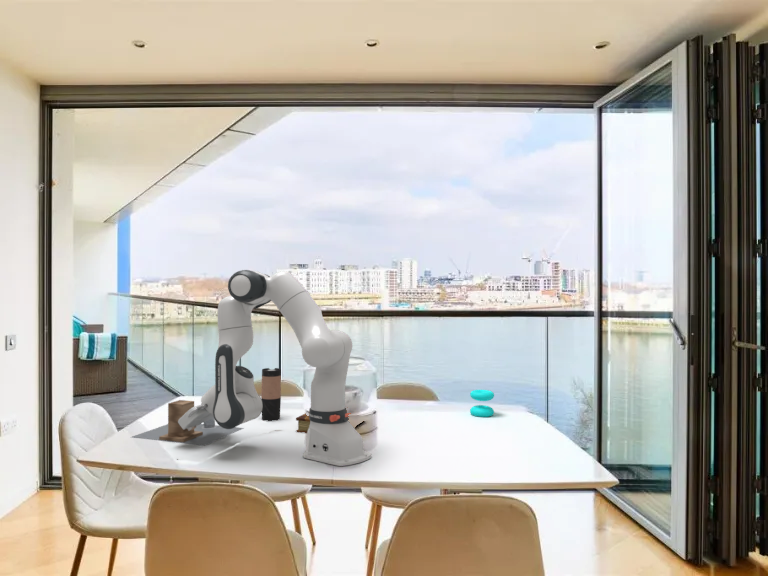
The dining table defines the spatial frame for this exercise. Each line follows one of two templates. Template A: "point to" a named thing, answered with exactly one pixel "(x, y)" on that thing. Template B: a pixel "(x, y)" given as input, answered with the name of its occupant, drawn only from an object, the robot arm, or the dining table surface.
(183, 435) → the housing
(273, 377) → the travel mug
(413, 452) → the dining table surface
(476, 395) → the donuts
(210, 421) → the peg
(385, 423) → the dining table surface
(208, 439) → the board
